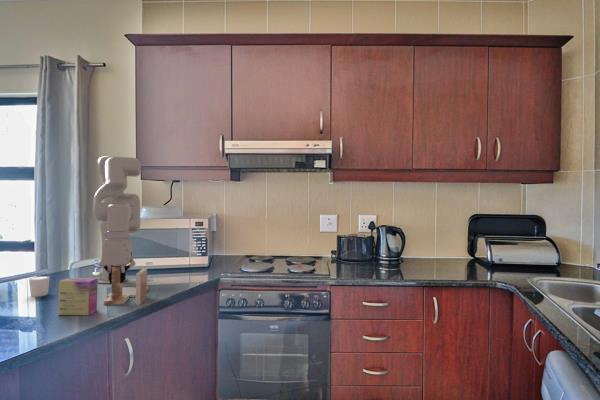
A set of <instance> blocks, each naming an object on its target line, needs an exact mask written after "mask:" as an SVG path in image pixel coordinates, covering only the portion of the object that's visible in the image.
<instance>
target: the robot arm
mask: <svg viewBox="0 0 600 400" xmlns="http://www.w3.org/2000/svg"><path fill="white" fill-rule="evenodd" d="M97 167H98V172H99V175H100V178H101V179H102V182H103V183H102V186H100V187H99V188H98V189H97V191H96V192H95V194H94V196H93V199H92V217H93V219H94V220H95V221H96V222H99V228H100V229H99V230H100V235H101V259H100V260H101V261H100V262H99V263H98V267H100V268H101V269H100V270H101V271H100V272H92V274H91V278H92V277H93V278H98V283H99V284H112V267H113V266H114V265H121V273H120V283H122V284H123V283H124V282H125V281H127V280H128V277H127V275H126V273H127V271H128V270H129V269H130V268H132V267H134V266H136V262H135V259H134V258H133V247H132V240H131V238H130V237H129V235H131V236H132V235H133V236H134V235H137V234H139V233H140V230H141V200H140V197H139V195H138V194H137V193H129V192H128V193H125V192H124V191H126V189H127V187H128V177H139V176H140V175H141V173H142V172H141V171H142V165H141V162H140V160H139V159H138V158H137V157H136V158H135V157H128V156H127V157H126V156H114V155H113V156H112V155H105V156H101V157H99V158H98V159H97ZM102 201H103V202H102Z"/></svg>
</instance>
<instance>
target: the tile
mask: <svg viewBox="0 0 600 400" xmlns="http://www.w3.org/2000/svg"><path fill="white" fill-rule="evenodd" d="M135 275H136V277H135V287H136V297H135V305H136V304H140V305H142V303H143V302H144V301H145V300H146V299H147V297H148V296H147V295H148V290H147V287H148V268H147V267H143V268H142V269H140V270H139V271H138V272H136V273H135ZM145 298H146V299H145ZM144 299H145V300H144ZM143 300H144V301H143Z"/></svg>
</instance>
